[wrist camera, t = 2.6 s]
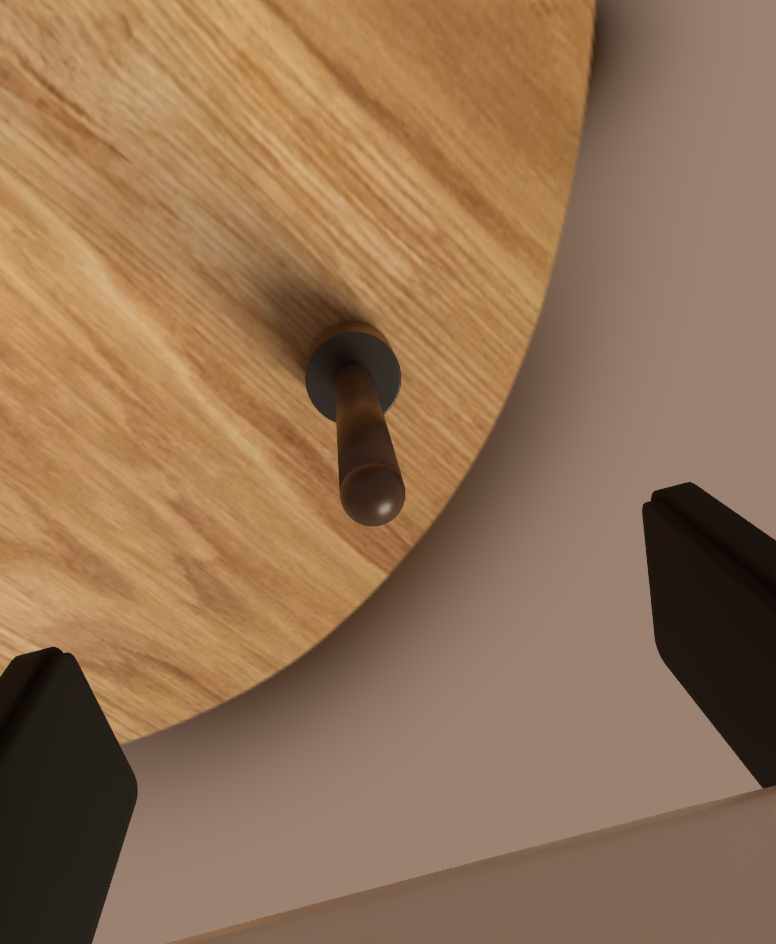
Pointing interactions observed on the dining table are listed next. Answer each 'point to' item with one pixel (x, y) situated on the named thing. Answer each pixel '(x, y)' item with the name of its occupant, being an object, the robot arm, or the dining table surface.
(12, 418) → the dining table surface
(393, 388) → the brown pestle
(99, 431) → the dining table surface
